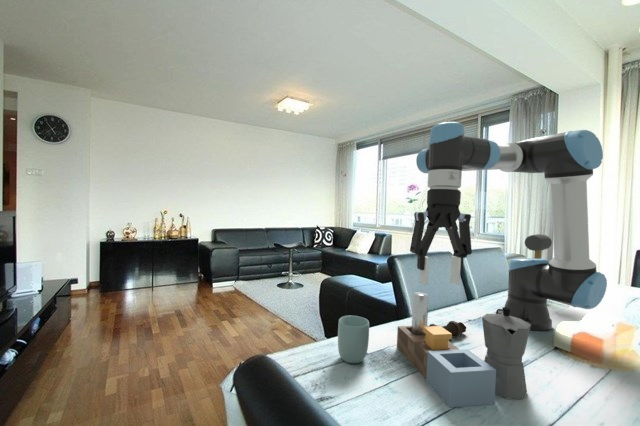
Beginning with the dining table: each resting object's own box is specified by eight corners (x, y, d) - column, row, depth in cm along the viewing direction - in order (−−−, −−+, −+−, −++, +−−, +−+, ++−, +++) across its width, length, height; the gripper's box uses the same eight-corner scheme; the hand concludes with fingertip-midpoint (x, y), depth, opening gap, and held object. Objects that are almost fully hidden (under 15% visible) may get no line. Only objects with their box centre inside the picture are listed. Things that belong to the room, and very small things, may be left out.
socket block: (426, 346, 88) (427, 325, 88) (461, 376, 72) (462, 351, 72) (396, 347, 87) (397, 326, 86) (425, 379, 71) (427, 353, 71)
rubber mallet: (538, 303, 135) (542, 235, 134) (520, 299, 141) (523, 233, 140) (550, 299, 142) (553, 234, 141) (531, 295, 148) (535, 233, 147)
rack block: (466, 379, 72) (467, 349, 71) (494, 403, 63) (496, 369, 62) (426, 381, 70) (427, 351, 70) (449, 407, 61) (451, 372, 61)
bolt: (463, 339, 99) (434, 348, 90) (451, 327, 102) (422, 334, 94) (473, 327, 96) (444, 334, 88) (461, 314, 100) (431, 321, 91)
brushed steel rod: (421, 349, 86) (423, 292, 86) (428, 356, 82) (431, 296, 82) (407, 349, 85) (410, 292, 85) (414, 356, 81) (417, 296, 81)
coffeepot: (535, 411, 61) (540, 320, 60) (482, 398, 64) (486, 313, 64) (517, 373, 75) (521, 299, 75) (474, 364, 79) (478, 294, 78)
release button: (439, 352, 78) (440, 326, 78) (450, 361, 73) (452, 333, 73) (421, 353, 77) (423, 326, 77) (432, 362, 72) (433, 334, 72)
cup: (333, 363, 76) (334, 323, 76) (341, 350, 84) (343, 313, 83) (364, 370, 74) (365, 328, 73) (370, 356, 81) (372, 318, 81)
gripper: (411, 185, 69) (406, 287, 69) (492, 190, 72) (487, 287, 73) (397, 187, 76) (393, 279, 77) (471, 191, 80) (467, 279, 80)
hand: (439, 283), depth 75 cm, fingers open, 8 cm apart
